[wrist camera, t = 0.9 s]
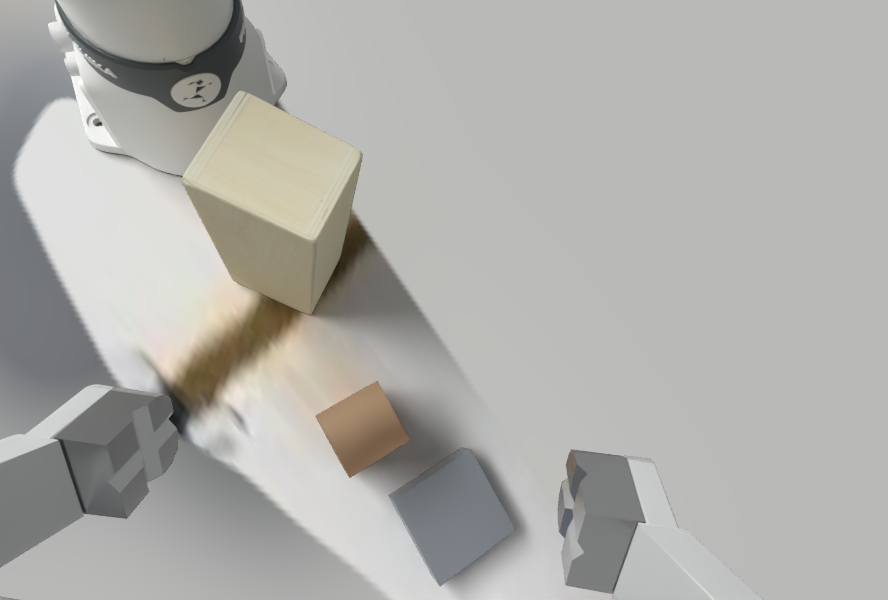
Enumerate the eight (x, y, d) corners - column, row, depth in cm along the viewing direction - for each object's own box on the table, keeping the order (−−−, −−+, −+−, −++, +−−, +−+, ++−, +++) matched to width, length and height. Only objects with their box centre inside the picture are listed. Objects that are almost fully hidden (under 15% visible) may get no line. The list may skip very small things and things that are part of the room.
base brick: (388, 495, 46) (393, 500, 43) (461, 447, 48) (470, 449, 46) (431, 575, 45) (440, 586, 43) (503, 523, 48) (515, 529, 45)
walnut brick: (315, 415, 46) (316, 415, 36) (364, 387, 48) (377, 381, 38) (341, 465, 46) (349, 478, 36) (390, 435, 47) (409, 440, 38)
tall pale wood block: (346, 251, 50) (369, 141, 30) (312, 317, 48) (313, 247, 28) (270, 214, 49) (241, 76, 29) (232, 280, 47) (173, 180, 27)
